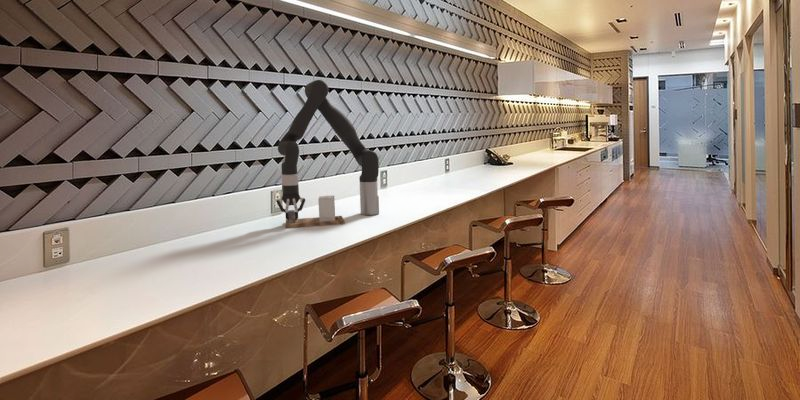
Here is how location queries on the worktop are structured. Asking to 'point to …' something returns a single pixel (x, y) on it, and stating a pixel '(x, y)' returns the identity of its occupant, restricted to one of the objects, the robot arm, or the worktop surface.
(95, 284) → the worktop surface
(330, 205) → the supplement box
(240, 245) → the worktop surface
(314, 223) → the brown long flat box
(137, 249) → the worktop surface
